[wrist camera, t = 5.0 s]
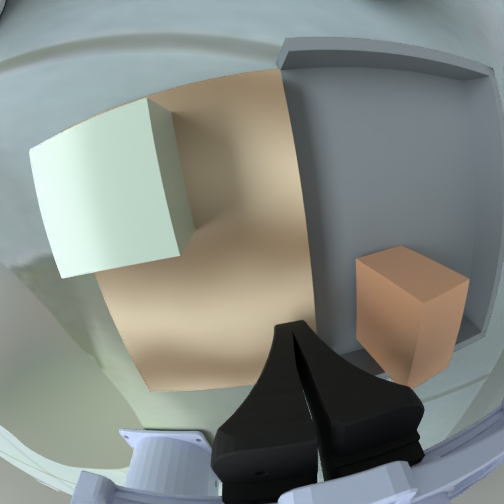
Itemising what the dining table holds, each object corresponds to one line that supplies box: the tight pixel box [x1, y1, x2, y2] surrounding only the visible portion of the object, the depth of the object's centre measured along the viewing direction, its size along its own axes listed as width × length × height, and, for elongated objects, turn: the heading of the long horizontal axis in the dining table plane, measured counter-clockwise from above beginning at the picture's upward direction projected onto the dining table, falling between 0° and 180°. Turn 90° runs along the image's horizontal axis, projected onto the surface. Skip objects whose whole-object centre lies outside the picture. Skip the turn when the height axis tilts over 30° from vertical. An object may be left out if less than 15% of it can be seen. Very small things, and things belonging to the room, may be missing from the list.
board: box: [60, 68, 317, 392], centre depth 13 cm, size 15×10×2 cm, turn 10°
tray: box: [277, 37, 504, 379], centre depth 12 cm, size 17×12×3 cm
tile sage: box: [29, 98, 196, 278], centre depth 9 cm, size 5×5×3 cm
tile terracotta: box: [356, 245, 470, 389], centre depth 12 cm, size 5×5×3 cm
